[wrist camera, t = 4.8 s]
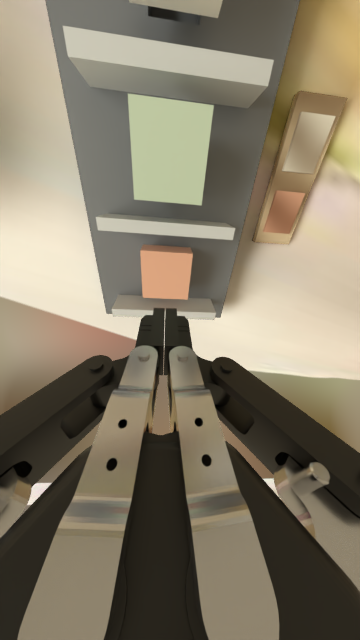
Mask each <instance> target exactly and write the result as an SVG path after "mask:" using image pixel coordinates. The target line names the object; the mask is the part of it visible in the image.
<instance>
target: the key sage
mask: <svg viewBox="0 0 360 640" xmlns="http://www.w3.org/2000/svg"><path fill="white" fill-rule="evenodd" d="M128 107H129V123H130V139H131V156H132V172H133V189H134V200H146V201H157V202H168V203H180V204H191V205H202V198H203V190H204V181H205V173H206V165H207V157H208V149H209V141H210V132H211V124H212V116H213V108H214V105H208V104H201V103H194V102H187V101H179V100H172V99H165V98H157V97H150V96H143V95H135V94H128Z"/></svg>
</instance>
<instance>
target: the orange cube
mask: <svg viewBox="0 0 360 640" xmlns="http://www.w3.org/2000/svg"><path fill="white" fill-rule="evenodd" d="M140 256H141V275H142V294H143V298H161V299H184V300H188V293H189V284H190V275H191V266H192V258H193V253H192V250H191V248H190V247H175V246H161V245H146V244H143V246H142V248H141V250H140Z"/></svg>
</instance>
